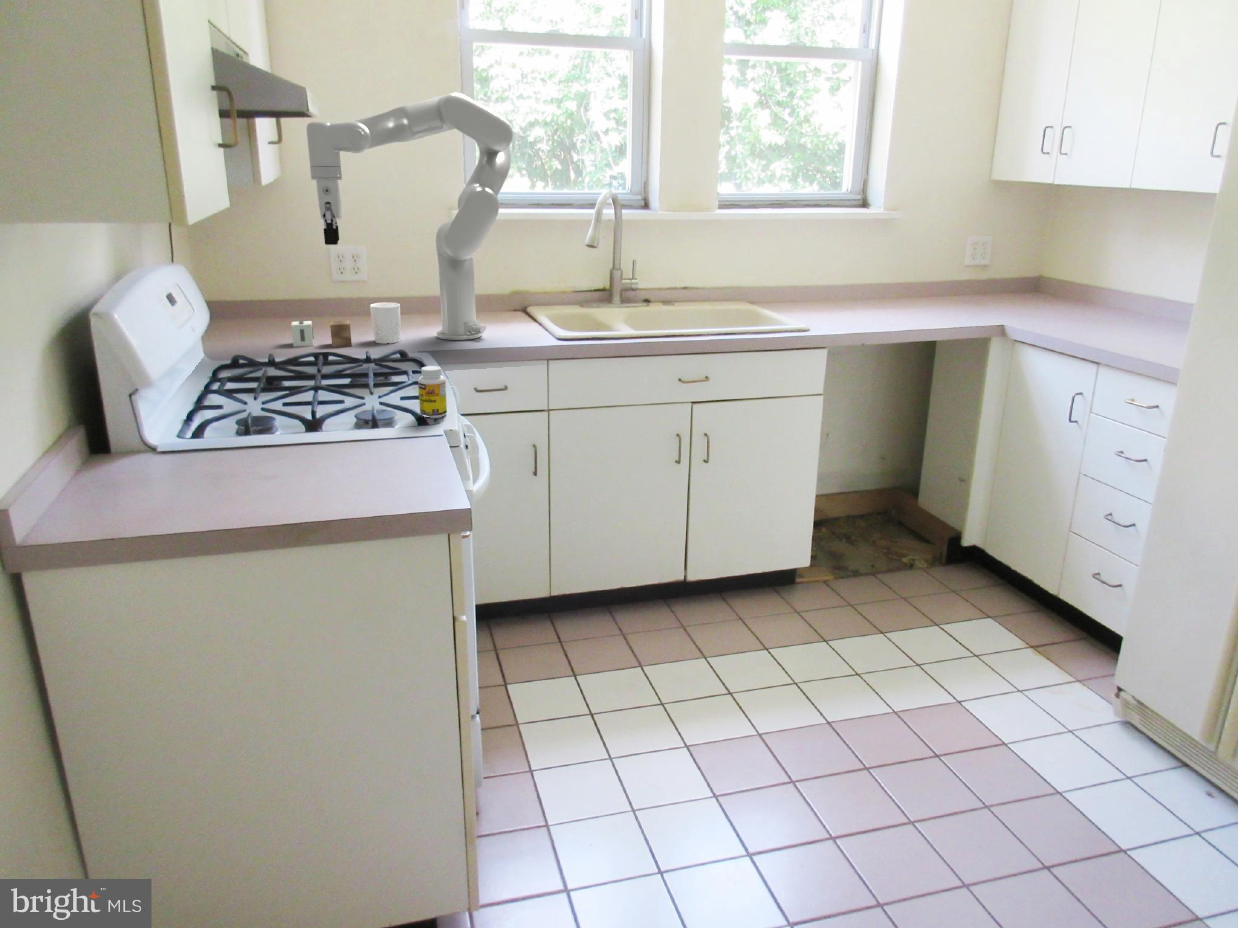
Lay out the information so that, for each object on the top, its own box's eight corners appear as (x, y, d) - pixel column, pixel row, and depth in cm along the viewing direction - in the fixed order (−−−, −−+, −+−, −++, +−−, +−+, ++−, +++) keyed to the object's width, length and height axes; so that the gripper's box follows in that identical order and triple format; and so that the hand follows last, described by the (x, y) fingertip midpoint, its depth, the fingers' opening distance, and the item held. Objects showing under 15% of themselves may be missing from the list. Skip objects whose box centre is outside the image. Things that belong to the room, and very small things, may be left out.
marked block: (314, 342, 245) (312, 320, 243) (314, 346, 240) (311, 323, 238) (294, 343, 244) (291, 320, 242) (293, 347, 239) (291, 324, 237)
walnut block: (351, 342, 245) (349, 320, 243) (351, 346, 240) (349, 324, 238) (332, 343, 244) (329, 321, 242) (332, 347, 239) (330, 325, 237)
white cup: (367, 341, 247) (364, 304, 243) (391, 337, 252) (389, 301, 249) (383, 345, 242) (380, 308, 238) (408, 341, 247) (405, 305, 244)
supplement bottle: (415, 417, 179) (411, 369, 176) (429, 410, 184) (426, 364, 180) (438, 420, 177) (435, 372, 174) (452, 413, 182) (449, 366, 178)
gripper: (340, 175, 222) (346, 246, 228) (342, 173, 238) (348, 239, 244) (308, 174, 220) (315, 246, 226) (312, 172, 236) (319, 239, 242)
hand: (332, 242), depth 235 cm, fingers open, 9 cm apart
